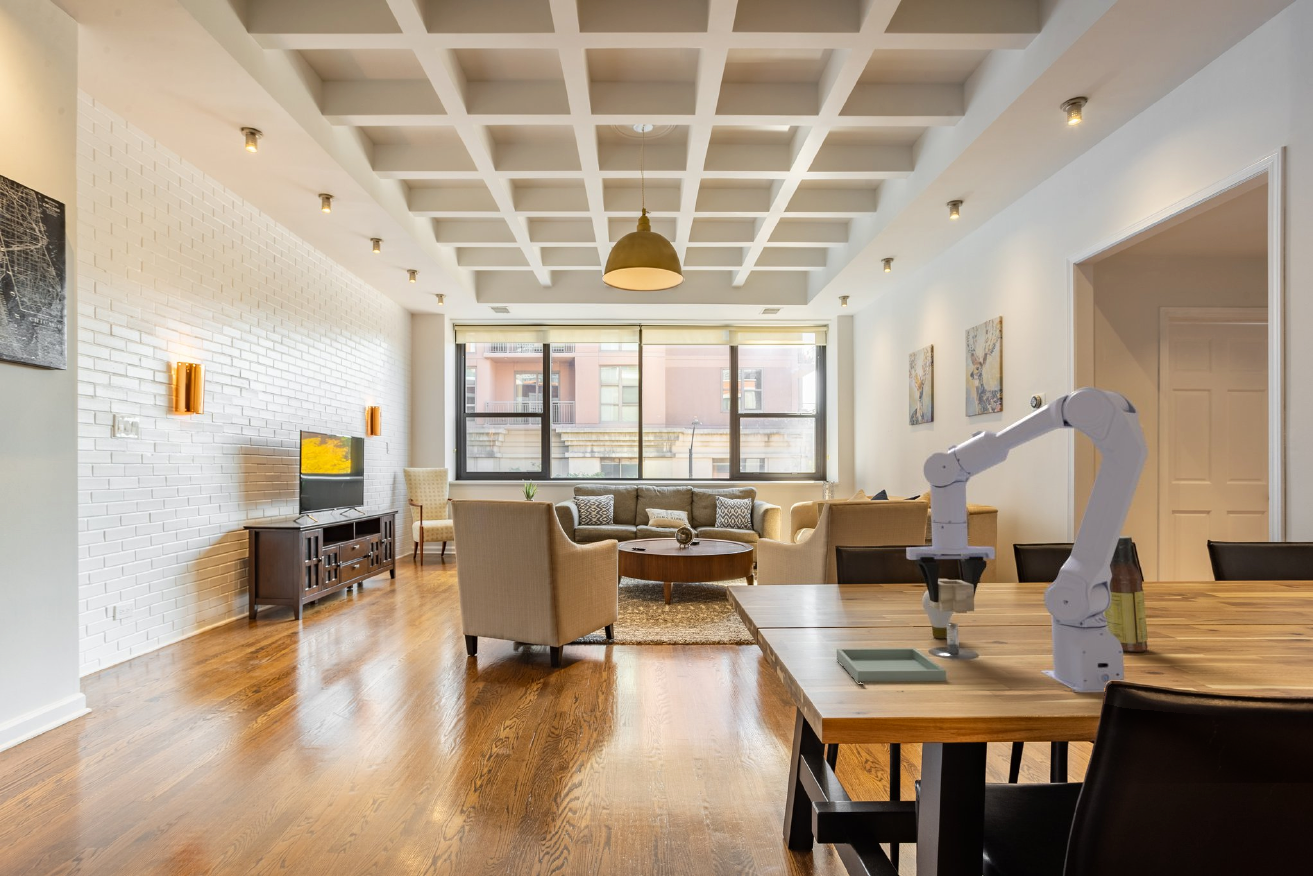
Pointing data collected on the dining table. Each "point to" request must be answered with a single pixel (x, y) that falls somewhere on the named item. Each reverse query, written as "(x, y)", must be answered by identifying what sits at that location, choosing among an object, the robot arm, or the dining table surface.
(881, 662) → the tray
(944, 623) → the light bulb
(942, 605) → the beige hollow block
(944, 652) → the grey metal round stand
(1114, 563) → the sauce bottle
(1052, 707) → the dining table surface
